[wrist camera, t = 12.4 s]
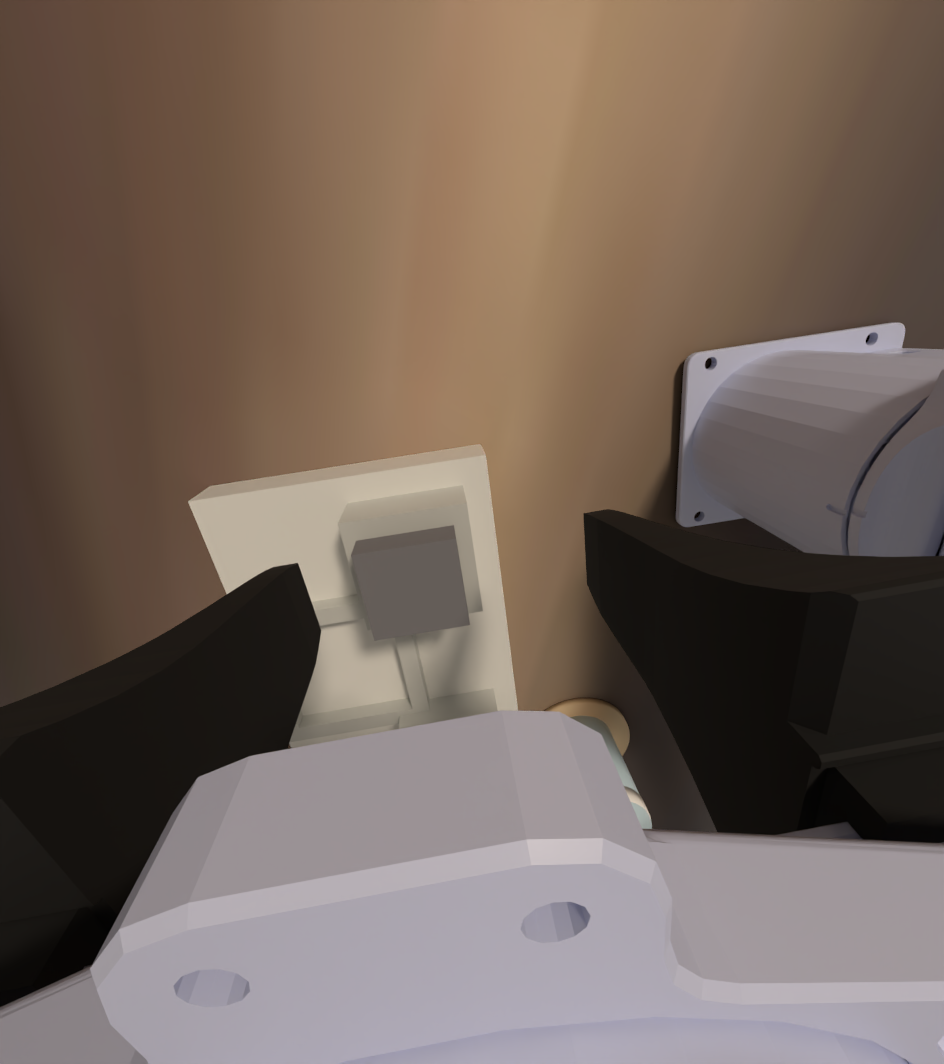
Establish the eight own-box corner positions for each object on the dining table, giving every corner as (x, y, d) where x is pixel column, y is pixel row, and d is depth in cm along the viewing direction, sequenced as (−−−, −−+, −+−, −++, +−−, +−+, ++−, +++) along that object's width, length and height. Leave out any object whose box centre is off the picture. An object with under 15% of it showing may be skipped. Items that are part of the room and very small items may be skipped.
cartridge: (580, 702, 26) (615, 790, 21) (626, 738, 28) (670, 828, 23) (523, 747, 27) (545, 840, 22) (571, 779, 29) (601, 874, 24)
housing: (480, 444, 20) (492, 469, 16) (519, 747, 28) (534, 813, 24) (210, 486, 20) (157, 522, 16) (325, 781, 28) (308, 853, 24)
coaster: (626, 689, 27) (630, 695, 26) (626, 765, 29) (629, 771, 29) (519, 708, 27) (521, 714, 26) (529, 781, 29) (530, 789, 29)
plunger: (451, 507, 18) (455, 538, 16) (464, 584, 20) (469, 625, 17) (362, 521, 18) (350, 555, 15) (382, 597, 20) (374, 640, 17)
